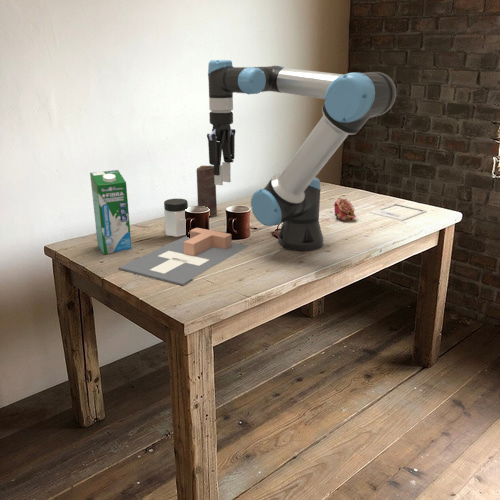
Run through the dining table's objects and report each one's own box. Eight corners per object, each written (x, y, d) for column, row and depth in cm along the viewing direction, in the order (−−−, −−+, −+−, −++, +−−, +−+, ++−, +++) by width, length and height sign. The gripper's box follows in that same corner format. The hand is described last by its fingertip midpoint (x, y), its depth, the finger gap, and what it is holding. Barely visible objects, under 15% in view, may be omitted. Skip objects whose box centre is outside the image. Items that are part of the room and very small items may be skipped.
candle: (209, 220, 208) (207, 168, 201) (194, 217, 211) (192, 166, 204) (220, 215, 214) (219, 165, 207) (205, 212, 217) (204, 163, 210)
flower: (324, 216, 206) (336, 202, 201) (330, 205, 213) (342, 191, 209) (345, 231, 206) (357, 217, 201) (350, 220, 214) (362, 206, 209)
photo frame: (370, 211, 216) (395, 203, 228) (369, 214, 217) (395, 205, 228) (402, 219, 206) (426, 210, 218) (401, 222, 207) (426, 212, 218)
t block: (231, 245, 179) (231, 234, 178) (207, 259, 168) (207, 246, 166) (197, 238, 186) (196, 227, 184) (171, 251, 175) (170, 239, 173)
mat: (249, 247, 179) (249, 245, 179) (183, 285, 150) (183, 283, 150) (190, 235, 191) (190, 233, 191) (118, 269, 162) (118, 267, 162)
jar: (171, 239, 187) (169, 206, 183) (161, 233, 193) (159, 200, 189) (194, 234, 192) (192, 202, 187) (183, 229, 198) (182, 197, 194)
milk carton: (104, 254, 173) (96, 177, 165) (97, 246, 181) (89, 172, 172) (131, 250, 177) (125, 174, 168) (124, 242, 185) (118, 169, 176)
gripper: (225, 108, 181) (227, 177, 189) (195, 113, 167) (198, 187, 176) (245, 109, 178) (245, 179, 186) (215, 114, 164) (217, 190, 172)
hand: (222, 183), depth 181 cm, fingers open, 4 cm apart
